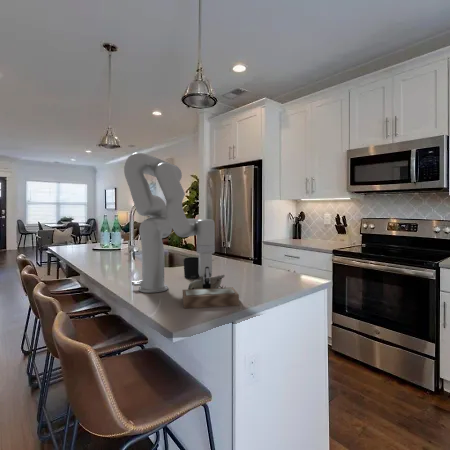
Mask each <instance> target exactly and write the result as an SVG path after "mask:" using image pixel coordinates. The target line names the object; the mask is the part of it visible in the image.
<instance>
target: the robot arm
mask: <svg viewBox="0 0 450 450" xmlns="http://www.w3.org/2000/svg"><path fill="white" fill-rule="evenodd" d="M123 171H124V177H125V180H126V182H127V186H128V188H129V191H130V195H131V197H132V199H131V200H132V202H133V204H134V207H135V208H134V209H135V210H136V212H137V214H138V215H140V216H143V217H148V218H145V219H144V220H143V221H142V222H141V223H140V225H139V231H138V233H139V238H140V244H141V271H142V272H141V279H140V280H131V286H134V287H138V291H139V292H141V293H149V294H150V293H151V294H155V293H161V292H165V291H167V290H168V289H169V285H167V284H165V248H164V242H163V239H165V238H167V237H169V236H170V235H171V233H172V231H173V232H174V233H175V234H176V236H178V237H179V238H187V237H194V236H196V253H198V258H199V265H198V274H199V276H200V277H201V278H200V280H201V279H203V289H208V288H211V284H210V277H212V276H213V254H214V253H215V252H216V250H215V249H216V241H215V238H216V237H215V235H216V234H215V233H216V231H215V229H216V228H215V225H216V224H215V220H214V219H210V218H203V219H202V218H201V219H200V218H199V219H196V218H187V216H186V213H185V211H184V208H183V200H184V197H185V195H186V194H185V193H186V192H185V191H184V188H183V186H182V183H181V182H180V181H181V180H182V176H183V175H182V173H183V172H182V171H181V168H180V167H179V166H177V165H175V164H172V163H170V162H168V161H165V160H163V159H161V158H159V157H156V156H152V155H149V154H147V153H143V152H134V153H132V154H130V155H129V156H128V157H127V158H126V160H125V162H124V166H123ZM145 175H149V176H152V177H155V178H156V180H157V182H158V185H159V187H160V190H161V191H162V195H163V196H164V199H165V201H166V203H165V201H164V200H163V198H162V197H160V196H158V195H154V194H153V193H152V190H151V187H150V184H149V182H148V180H147V178H146V177H145ZM205 278H206V279H205Z"/></svg>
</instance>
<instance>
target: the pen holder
mask: <svg viewBox="0 0 450 450" xmlns="http://www.w3.org/2000/svg"><path fill="white" fill-rule="evenodd" d="M198 265H199V256H198V257H197V256H195V257H194V256H191V257H185V258H184V259H183V269H184V270H183V273H184V274H183V275H184V278H185V279H187V280H200V279H201V277H200V276H199V274H198Z"/></svg>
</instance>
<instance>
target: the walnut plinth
mask: <svg viewBox="0 0 450 450" xmlns="http://www.w3.org/2000/svg"><path fill="white" fill-rule="evenodd" d="M182 304H183V309H196V308H197V309H198V308H216V307H217V308H218V307H231V306H232V307H234V306H239V305H240V294H239V293H238V292H237V290H236V289H235V288H234V287H223V288H220V287H219V288H208V289H188V288H187V289H182Z"/></svg>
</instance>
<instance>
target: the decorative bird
mask: <svg viewBox="0 0 450 450" xmlns="http://www.w3.org/2000/svg"><path fill="white" fill-rule="evenodd" d="M223 278H225V274H218V275H216V276H213V277H212V276H211V277H210V284H211V288H227V287H226V285H225V287H224V285H222V286H221V283H222V280H223ZM205 279H206V278H205ZM187 289H203V279H201V278H200V279H193V281H191V282H190V283H189V285H188V287H187Z"/></svg>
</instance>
